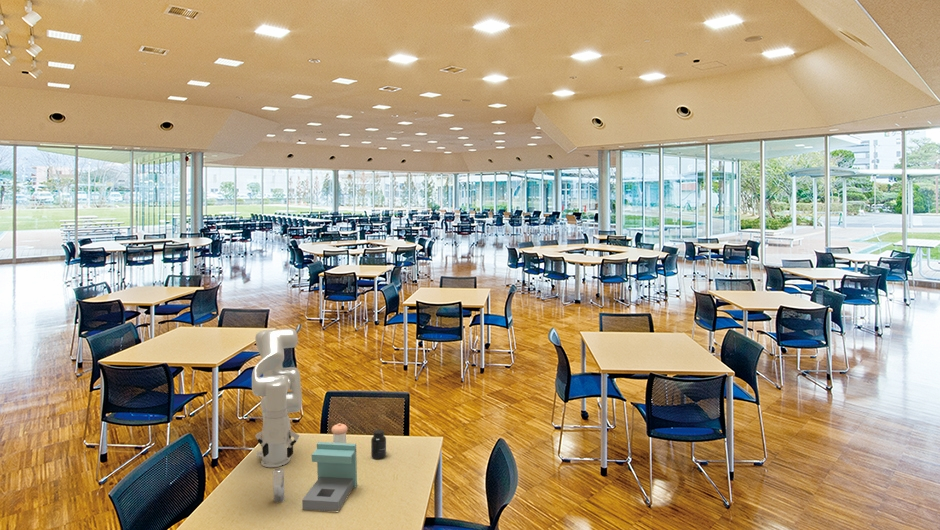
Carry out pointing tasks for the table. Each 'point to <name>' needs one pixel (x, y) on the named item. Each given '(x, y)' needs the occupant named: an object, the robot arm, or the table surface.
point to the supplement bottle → (378, 445)
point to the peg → (278, 485)
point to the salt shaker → (339, 433)
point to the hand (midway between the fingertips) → (277, 455)
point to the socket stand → (332, 476)
